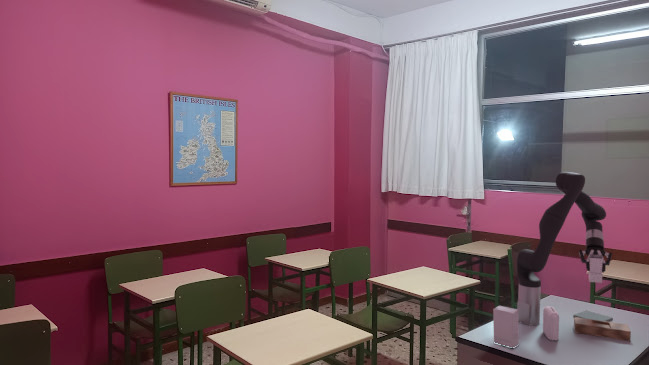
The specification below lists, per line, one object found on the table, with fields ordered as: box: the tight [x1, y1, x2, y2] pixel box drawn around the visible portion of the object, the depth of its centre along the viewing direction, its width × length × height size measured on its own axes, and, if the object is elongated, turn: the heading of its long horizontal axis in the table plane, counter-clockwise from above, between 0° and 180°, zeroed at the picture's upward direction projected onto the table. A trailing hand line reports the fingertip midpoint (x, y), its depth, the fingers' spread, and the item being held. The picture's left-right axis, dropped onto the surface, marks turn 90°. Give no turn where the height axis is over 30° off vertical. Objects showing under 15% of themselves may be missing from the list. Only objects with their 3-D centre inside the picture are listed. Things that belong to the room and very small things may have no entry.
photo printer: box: [542, 305, 560, 341], centre depth 191 cm, size 10×4×12 cm, turn 169°
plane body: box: [573, 317, 632, 342], centre depth 195 cm, size 20×9×4 cm, turn 64°
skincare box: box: [492, 305, 520, 348], centre depth 182 cm, size 8×6×15 cm
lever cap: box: [588, 254, 603, 284], centre depth 211 cm, size 5×6×12 cm
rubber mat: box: [572, 310, 614, 322], centre depth 213 cm, size 12×12×1 cm
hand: (595, 270), depth 210 cm, fingers closed on lever cap, 5 cm apart
